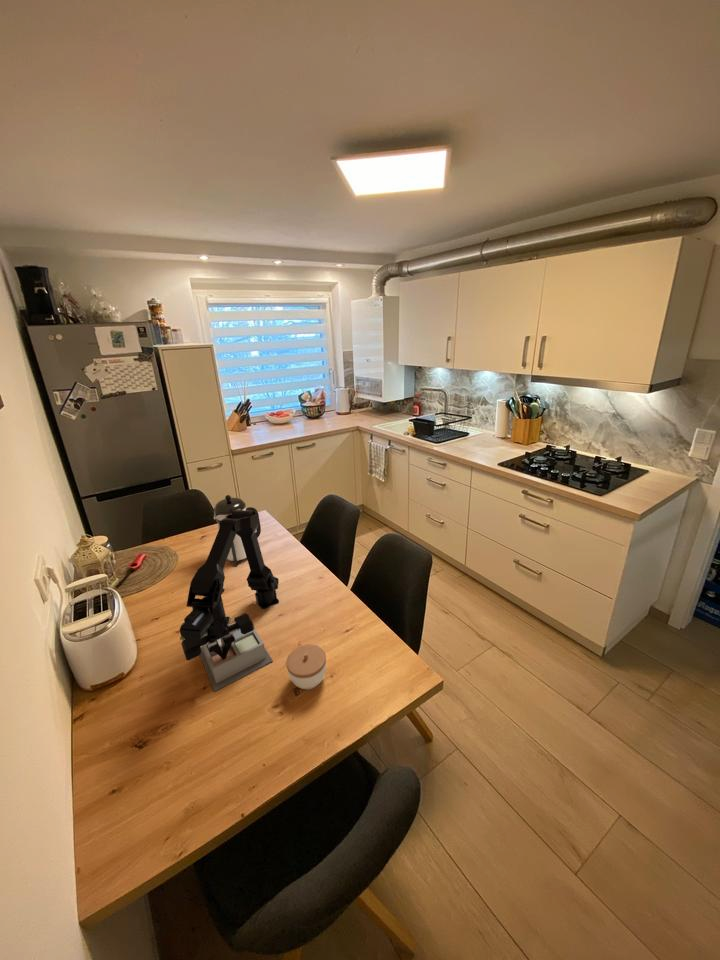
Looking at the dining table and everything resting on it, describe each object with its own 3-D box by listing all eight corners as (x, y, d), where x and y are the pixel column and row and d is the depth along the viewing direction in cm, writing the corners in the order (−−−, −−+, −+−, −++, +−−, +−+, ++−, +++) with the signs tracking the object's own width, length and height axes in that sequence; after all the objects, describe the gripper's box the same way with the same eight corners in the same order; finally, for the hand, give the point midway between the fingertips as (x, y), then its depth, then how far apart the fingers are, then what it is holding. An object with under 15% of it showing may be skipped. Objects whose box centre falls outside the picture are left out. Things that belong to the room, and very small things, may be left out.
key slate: (247, 632, 124) (245, 624, 123) (253, 643, 120) (251, 634, 119) (230, 640, 121) (228, 632, 120) (235, 651, 117) (233, 643, 116)
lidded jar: (296, 703, 100) (292, 676, 97) (284, 674, 109) (280, 648, 106) (334, 686, 104) (331, 659, 101) (319, 659, 113) (316, 634, 110)
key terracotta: (232, 656, 115) (230, 647, 114) (238, 668, 111) (236, 659, 110) (213, 665, 112) (211, 656, 111) (219, 678, 108) (216, 669, 107)
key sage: (254, 643, 119) (252, 634, 117) (261, 654, 114) (259, 645, 113) (236, 651, 116) (234, 643, 114) (242, 663, 111) (240, 654, 110)
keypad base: (250, 625, 128) (247, 611, 126) (272, 661, 113) (270, 646, 111) (197, 649, 119) (194, 635, 117) (214, 691, 105) (210, 676, 103)
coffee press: (253, 566, 163) (242, 501, 152) (216, 567, 163) (202, 503, 153) (264, 545, 179) (254, 485, 168) (230, 546, 179) (218, 487, 169)
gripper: (237, 587, 116) (246, 628, 122) (171, 613, 107) (183, 656, 112) (250, 606, 108) (258, 649, 113) (180, 636, 98) (192, 682, 103)
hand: (224, 658), depth 111 cm, fingers closed, pressing on key terracotta
